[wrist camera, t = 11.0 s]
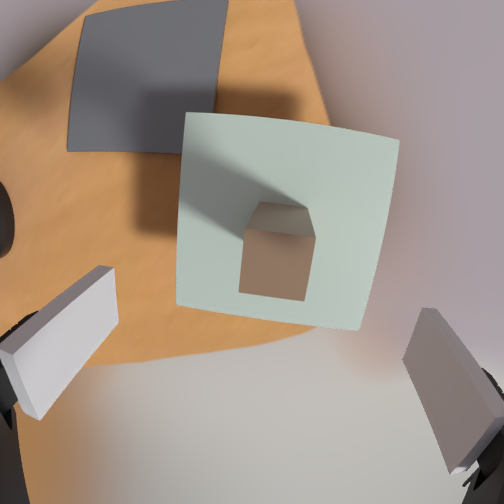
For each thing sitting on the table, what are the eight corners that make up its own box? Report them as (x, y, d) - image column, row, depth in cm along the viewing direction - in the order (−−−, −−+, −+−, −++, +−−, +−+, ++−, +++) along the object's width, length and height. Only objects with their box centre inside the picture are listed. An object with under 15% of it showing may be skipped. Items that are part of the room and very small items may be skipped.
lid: (178, 301, 31) (139, 358, 22) (188, 113, 25) (138, 99, 16) (357, 326, 30) (377, 393, 21) (396, 140, 24) (448, 139, 15)
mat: (71, 151, 37) (67, 151, 36) (89, 17, 30) (85, 16, 29) (209, 155, 35) (207, 155, 34) (228, 1, 29) (227, -2, 28)
